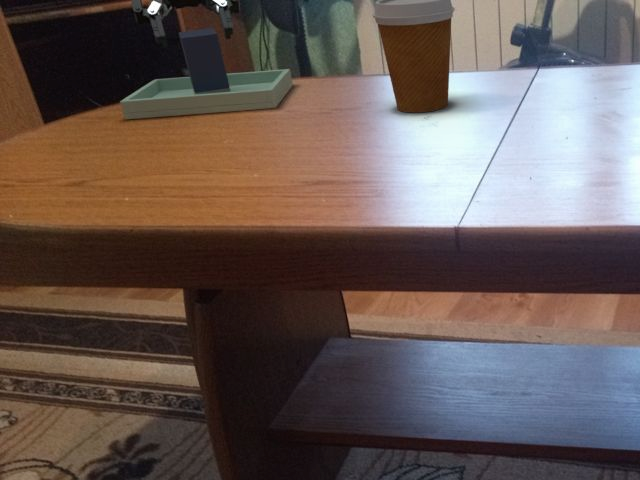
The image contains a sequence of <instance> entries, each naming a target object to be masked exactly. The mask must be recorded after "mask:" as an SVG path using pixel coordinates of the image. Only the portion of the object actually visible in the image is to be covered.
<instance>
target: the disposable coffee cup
mask: <svg viewBox="0 0 640 480" xmlns="http://www.w3.org/2000/svg"><path fill="white" fill-rule="evenodd" d="M455 10H456V8H455V7H454V6H453V4H452V0H376V1H375V3H374V13H373V14H372V18H374V20H375V24H376V25H377V27H378V31H379V36H380V40H381V45H382V49H383V52H384V56H385V61H386V65H387V69H388V75H389V78H390V83H391V86H392V87H391V88H392V92H393V95H394V100H395V103H396V104H395V105H396V108H397V110H398V111H401V112H405V113H427V112H433V111H438V110H441V109H444V108H445V107H447V106H448V105H449V90H450V89H449V88H450V87H449V86H450V63H451V58H450V57H451V39H452V37H451V36H452V18H453V17H454V12H455Z"/></svg>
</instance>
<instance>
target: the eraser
mask: <svg viewBox="0 0 640 480" xmlns="http://www.w3.org/2000/svg"><path fill="white" fill-rule="evenodd" d="M178 36H179V40H180V44H181V48H182V52H183V55H184V60H185V64H186V67H187V71H188V75H189V76H188V77H190V80H191V84H192V88H193V92H194V95H196V94H209V93H222V92H231V91H230V87H229V82H228V78H227V74H228V73H227V71H226V70H227V69H226V67H225V62H224V61H225V60H224V57H223V52H222V47H221V43H220V39H219V35H218V33H217V32H216V30H215V29H214V28H213V27H209V28H202V29H194V30H186V31H179V32H178Z"/></svg>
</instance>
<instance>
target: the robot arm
mask: <svg viewBox="0 0 640 480" xmlns="http://www.w3.org/2000/svg"><path fill="white" fill-rule="evenodd" d="M130 3H131V8H132V12H133V13H134V18H135V21H136V24H138V25H144V24H146V23H147V24H149V25H150V26H151V28H152V31H153V36H154V38H155V42H156V43H157V44H158V45H161V44H162V48H169V44H168V39H167V36H166V32H165V29H164V25H163V20H164V18H165V17H168V14H169V13H170V11H171V10H172V8H175V9H176V10H179V9H185V8H187V7H188V8H196V7H198V8H199V5H201V6H202V7H204V8H205V9H207V10H208V11H210V12H213V13H215V14H216V15H217V16H218V17H219V21H220V24H221V27H222V31H223V34H224V38H225V40H231V39H232V37H231V36H232V35H234V33H235V27H234V22H233V19H232V16H231V14H232V13H235V14H238V13H240V12H241V5H240V0H152V1H151V3H150V5H149V6H148V8H146V7H144V5H143V0H130Z"/></svg>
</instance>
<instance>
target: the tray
mask: <svg viewBox="0 0 640 480" xmlns="http://www.w3.org/2000/svg"><path fill="white" fill-rule="evenodd" d="M226 74H227V78H228V82H229V87H230V91H231V92H222V93H209V94H196V95H194V92H193V88H192V84H191V80H190V76H180V77H168V78H167V77H166V78H156V79H153V80H151V81H150V82H148V83H146V84H145V85H143V86H142V87H140V88H139V89H137V90H136V91H134V92H133V93H131V94H129V95H128V96H126V97H124V98H123V99H122V100H120V101H119V104H120V107H121V110H122V113H123V116H124V119H125V120H138V119H151V118H152V119H154V118H164V117H165V118H167V117H176V116H177V117H179V116H189V115H203V114H204V115H205V114H216V113H218V114H219V113H228V112H229V113H231V112H242V111H254V110H255V111H257V110H268V109H276V108H277V107H278V106H279V104H280V103H281V102H282V100H284V98H285V96H286V95H287V94H288V93H289V91H290V90H291V89H292V87H293V86H294V83H293V78H292V73H291V69H290V68H285V69H272V70H271V69H269V70H257V71H246V72H233V73H231V72H230V73H226Z"/></svg>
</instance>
